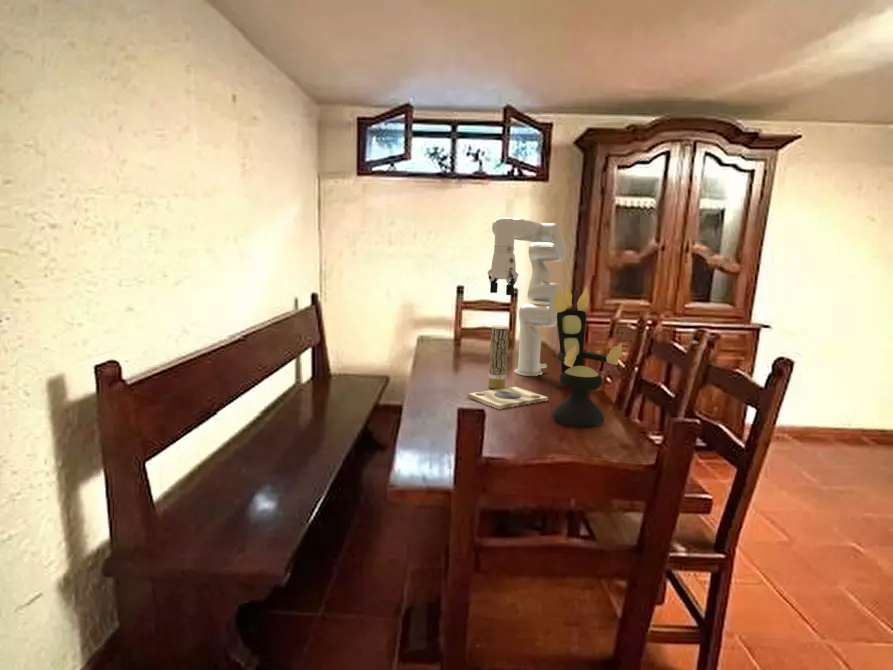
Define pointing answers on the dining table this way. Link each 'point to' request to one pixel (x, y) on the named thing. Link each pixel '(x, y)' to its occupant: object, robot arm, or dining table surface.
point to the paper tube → (498, 356)
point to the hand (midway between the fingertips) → (501, 293)
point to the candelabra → (578, 363)
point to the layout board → (507, 397)
